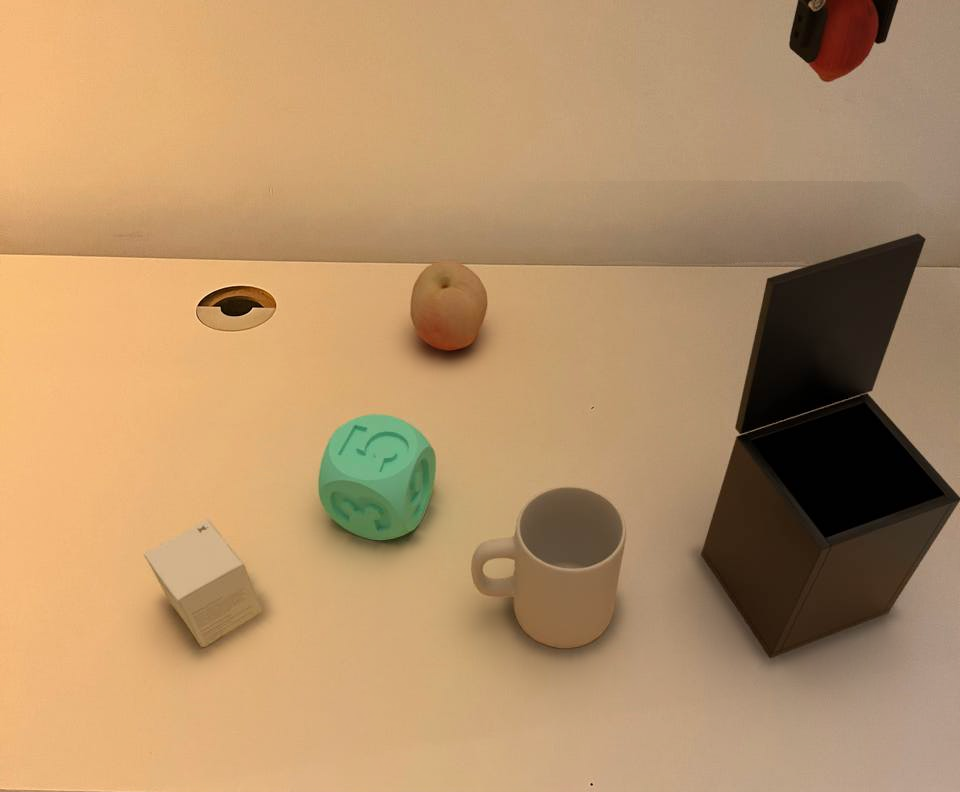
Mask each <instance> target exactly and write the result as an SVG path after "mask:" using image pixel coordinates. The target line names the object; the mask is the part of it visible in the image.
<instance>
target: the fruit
mask: <svg viewBox="0 0 960 792" xmlns="http://www.w3.org/2000/svg"><path fill="white" fill-rule="evenodd" d="M488 303H489V302H488V293H487V290H486V287H485V286H484V283H483V282H482V280H481V278H480V277H479V276H478V275H477V274H476V272H474V271H473V270H472V269H471V268H469V267H468V266H466V265H464V264H462V263H460V262H457V261H454V260H450V259H449V260H447V259H445V260H440V261H436V262H434V263H432V264H430V265H428V266H426V267H425V268H424V269H423V270H422V271H421V272H420V274H419V275H418V277H417V278H416V280H415V282H414V284H413V286H412V292H411V297H410V318H411V321H412V324H413V327H414V330H415V331H416V333H417V334H418V336H419V337H420V338H421V339H422V341H424V342H425V343H426V344H428V345H429V346H431V347H433V348H435V349H439V350H442V351H456V350H459V349H464V348H466V347H468V346H469V345H471V344H473V342H474V341H475V340H476V338H477V336H478V334H479V331H480V330H481V327H482V325H483V323H484V320H485V317H486V314H487V310H488V305H489V304H488Z"/></svg>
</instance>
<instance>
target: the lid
mask: <svg viewBox="0 0 960 792" xmlns="http://www.w3.org/2000/svg"><path fill="white" fill-rule="evenodd" d="M925 242H926V237H924V236H923V235H922V234H920V233H915V234H911V235H907V236H905V237H904V236H903V237H901V238H898V239H895V240H891V241H887V242H885V243H880V244H878V245H874V246H872V247H867V248H863V249H861V250H857V251H855V252H851V253H847V254H844V255H841V256H838V257H833V258H830V259H827V260H824V261H820V262H818V263H814V264H810V265H807V266H803V267H800V268H797V269H794V270H790V271H787V272H783V273H780V274H777V275H774V276H771V277H767V279H766V282H765V286H764V287H765V288H764V291H763V296H762V300H761V306H760V309H759V310H760V311H759V314H758V320H757V323H756V328H755V333H754V338H753V342H752V347H751V353H750V358H749V361H748V367H747V371H746V376H745V380H744V384H743V390H742V394H741V399H740V402H739V408H738V412H737V417H736V422H735V426H734V429H735V430H736V432H737V433H738V434H739V435H742V434H746V433H748V432H751V431H754V430H757V429H760V428H763V427H766V426H769V425H772V424H775V423H778V422H781V421H784V420H787V419H790V418H793V417H796V416H799V415H802V414H805V413H808V412H811V411H814V410H817V409H821V408H824V407H827V406H830V405H833V404H836V403H839V402H842V401H845V400H848V399H851V398H854V397H857V396H860V395H863V394H866V393H870V392H873V389H874V387H875V384H876V381H877V378H878V376H879V373H880V369H881V367H882V365H883V361H884V358H885V356H886V353H887V350H888V348H889V345H890V341H891V339H892V336H893V333H894V331H895V327H896V324H897V322H898V319H899V316H900V313H901V311H902V308H903V305H904V301H905V299H906V296H907V293H908V291H909V287H910V285H911V282H912V279H913V276H914V273H915V270H916V269H917V265H918V262H919V260H920V256H921V254H922V251H923V248H924V245H925Z"/></svg>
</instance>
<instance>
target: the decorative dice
mask: <svg viewBox="0 0 960 792" xmlns="http://www.w3.org/2000/svg"><path fill="white" fill-rule="evenodd" d="M436 469H437V458H436V452H435V450H434V448H433V446H432V444H431V442H430V441H429V440H428V438H426V436H425V435H424V434H423V432H422V431H420V430H419V429H418V428H417V427H416V426H414V425H412V424H411V423H409V422H407V421H405V420H404V419H402V418H400V417H396V416H392V415H389V414H379V413H377V414H376V413H375V414H366V415H361V416H357V417H355V418H353V419H350V420H349V421H346V422H345V423H344V424H342V425H341V426H339V427H338V428H336V429H335V431H334V432H333V434H331V436H330V438H329V439H328V441H327V444H326V446H325V449H324V452H323V454H322V457H321V461H320V466H319V470H318V471H319V473H318V482H317V483H318V484H317V485H318V487H317V488H318V489H317V490H318V496H319V500H320V503H321V505H322V507H323V509H324V510H325V511H326V513H327V515H329V517H330V518H331V519H332V520H333V521H334V522H335V523H337V524H338V525H339V526H340V527H342V528H343V529H345V530H346V531H348V532H349V533H352V534H353V535H356V536H359V537H361V538H365V539H368V540H372V541H387V540H388V541H389V540H392V539H397V538H399V537H402V536H403V537H404V536H405V535H407V534H409V533H411V532H412V531H414V530H415V529H416V528H417V527H418V526H419V525H420V523H421V521H422V520H423V518H424V516H425V514H426V512H427V509H428V506H429V503H430V500H431V497H432V493H433V489H434V486H435V480H436V471H437V470H436Z"/></svg>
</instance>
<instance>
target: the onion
mask: <svg viewBox="0 0 960 792" xmlns="http://www.w3.org/2000/svg"><path fill="white" fill-rule="evenodd" d="M823 6H824V7H825V8H827V9H828V17H827V21H826V25H825V29H824V33H823V37H822V41H821V45H820V48H819V52H818V56H817V59H816V60H815V61H814V62H811V63H807V64H808V65H809V67H810V68H811V69H812V70H813V71H814V72H815V73H816V74H817V76H818V77H819V79H820V80H821V81H822V82H825V83H830V82H833V81H835V80H837V79H840V78H843V77H845V76H847V75H849V74H850V73H852V72H853V71H854V70H855V69H858V68H859V66H861V65H862V64H863V63H864V61H866V59H867V58H868V56H869V55H870V54H871V51H872V49H873V47H874V45H875V39H876V36H877V31H878V14H877V10H876V7H875V5H874V3H873V1H872V0H826V1H825V3H824V5H823Z"/></svg>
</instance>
